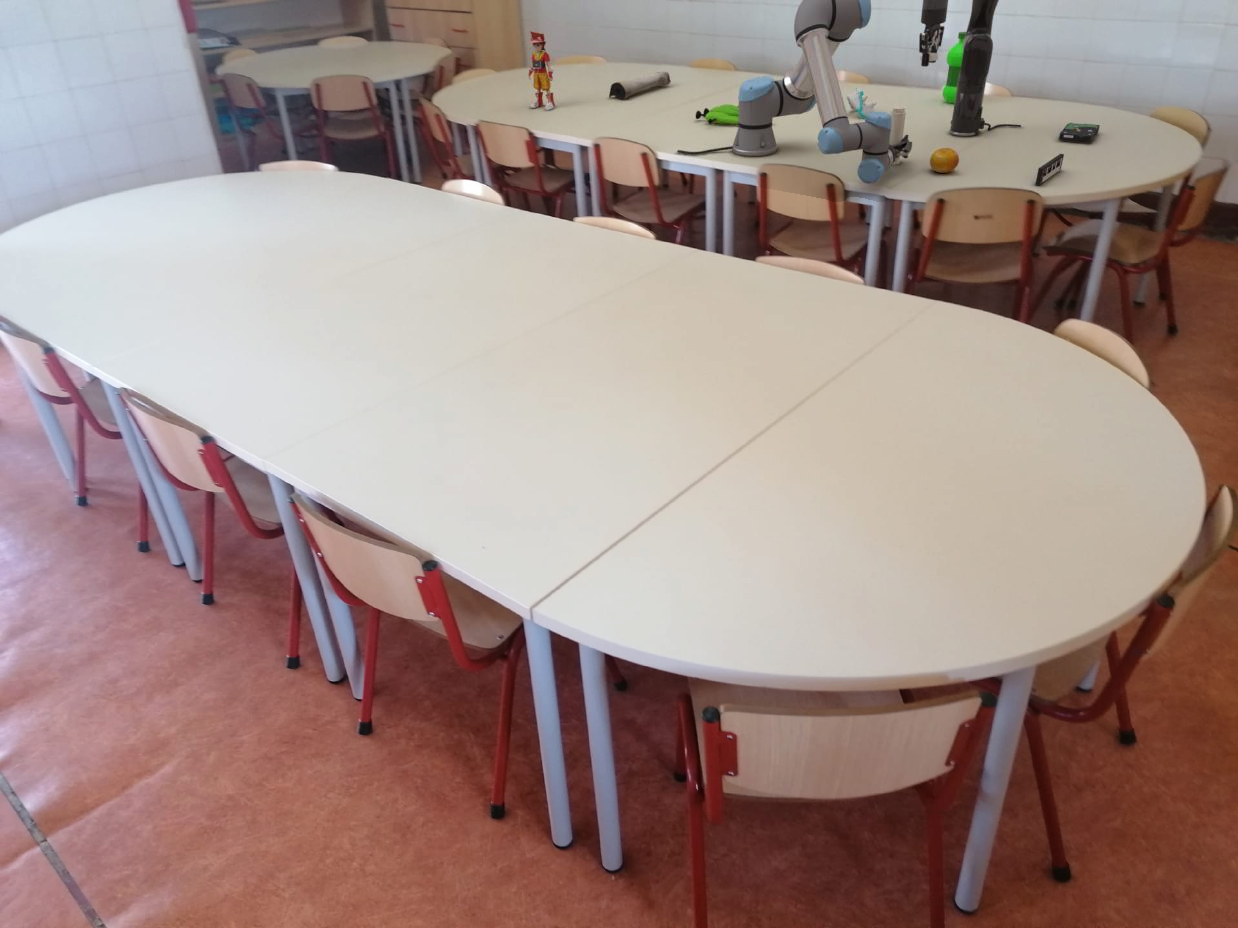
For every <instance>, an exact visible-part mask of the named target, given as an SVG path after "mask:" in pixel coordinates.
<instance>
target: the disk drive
mask: <svg viewBox="0 0 1238 928" xmlns="http://www.w3.org/2000/svg"><path fill="white" fill-rule="evenodd" d="M1100 127H1101V126H1100V124H1091V123H1075V122H1069V123H1067V124H1066V125H1065V126H1064V127H1063V129H1062V130H1061V131H1060V133H1059V136H1058V141H1062V142H1072V143H1083V144H1091V143H1093V141H1094V139H1095V137H1096V136H1097V135H1098V133H1099V132H1100Z"/></svg>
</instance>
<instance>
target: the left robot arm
mask: <svg viewBox="0 0 1238 928" xmlns="http://www.w3.org/2000/svg"><path fill="white" fill-rule="evenodd" d="M871 1H872V0H801V2H800V4H799V5H798V8H797V9H796V12H795V17H794V22H793V32H794V38H795V43H796V45H797V47H799V48H801V50H802V54H801V56H800V57H799V59H798V61H797V62H796V64H795V66H794V67H792V68H790V69H789V70H787V71H786V72H785V74H784V76H783V77H782V79H778V80H775V79H774V78H773V77H772V76H757V77H753V78H749V79H746V80H745V81H743V82H742V83H741V84H740V86H739V89H738V90H739V91H738V105H739V118H738V124H737V126H738V127H737V131H736V134H735V137H734V140H733V143H732V145H731V146H723V147H717V148H711V149H706V150H700V151H687V150H681V149H677V150H676V151H677V153H679V154H683V155H684V154H685V155H694V156H695V155H703V154H708V153H709V154H710V153H714V152H715V153H716V152H721V151H727V150H732V153H733V154H736V155H737V156H742V157H764V156H769V155H773V154H775V152H777V145H778V144H777V141H776V137H775V133H774V129H773V118H779V117H780V118H781V117H786V116H793V115H802V114H805V113H808V112H810V111H811V110H813V109H814V108H815V106H816V107H817V111H818V115H819V118H820V122H821V125H822V128H821V129H820V131H819V132H818V134H817V141H818V142H817V146H818V150H819V151H820V152H821V153H822V154H824V155H838V154H842V153H847V152H852V151H860V150H862V153H861V162H860V163H859V164H858V167H857V176H858V178H859V180H860V181H861V182H863V183H865V184H867V185H868V184H869V185H870V184H875V183H877V182H878V181H880V180H881V179H882V178H883V177H884V176H885V174H886V173H887V171H888V170H889V169H890V167H891V166H892V164H893V163H894V161H895V159H896V158H898V157H899V156H900V157H901V158H903V159H908V157H909V154H910V152H911V151H912V148H913V141H910V139H909V134H904V136H903V139H902V141H901V143H899V144H897V145H890V144H889V140H890V133H891V125H892V117H891V113H888V112H885V111H874V112H871V113H868V114H867V115H866V118H864V121H862V122H856V123H850V120H849V117H848V113H847V108H846V106H845V105H846V104H845V101H844V98H843V94H842V89H841V87H840V83H839V80H838V79H839V78H838V76H837V72H836V68H835V65H834V64H835V63H834V60H833V55H834V54H835V53H836V51H837V50H838V48H839V46H840V45H841V43H844V42H846V41H848V40H849V39H850V38H851V36H852V34H853V33H854V32H855V30H857V29H859V30H861V29H864V28H865V27H867V26H868V25H869V23H870V19H871V15H872V2H871Z"/></svg>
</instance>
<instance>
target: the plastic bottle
mask: <svg viewBox="0 0 1238 928" xmlns="http://www.w3.org/2000/svg"><path fill="white" fill-rule="evenodd" d="M965 34H966V31H959V32H958V36H957V39H958V42H957V43H956V44H954V45H953V46H952V47H951V48H950V49H949V50H948V52H947V54H946V63H947V64H948V69H947V70H948V71H947V76H946V77H947V78H946V84H945V85H944V87H943V90H942V97H943V99H944V100H945V101H946V102H947V103H948V104H954V103H955V96H956V90H957V83H958V76H959V73H960V69H961V63H962V57H963V47H962V46H963V41H964V38H965Z"/></svg>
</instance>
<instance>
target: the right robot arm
mask: <svg viewBox="0 0 1238 928" xmlns="http://www.w3.org/2000/svg"><path fill="white" fill-rule="evenodd" d="M999 1H1000V0H972V2H971V4H972V5H971V11H970V17H969V21H968V25H967V28H966V31H965V32H966V34H965V38H964V41H963V46H962V47H963V57H962V63H961V69H960V73H959V76H958V83H957V90H956V96H955V103H953V110H952V115H951V120H950V129H949V134H950V135H952V136H956V137H973V136H979V131H980V130H984V129H985V126H986V127H987V130H988V131H992V130H994V129H996V128H999V127H1013V128H1021V127H1022V124H1013V123H1012V124H1011V123H1010V124H1009V123H1001V124H996V125H993V126H991V124H990V123H988V122H986V120H985V118H984V117H982V115H983V109H984V107H983V102H984V96H985V90H986V83H987V79H988V76H989V72H990V67H991V61H992V55H993V51H994V42H993V38H992V29H993V21H994V16H995V13H996V8H997V6H998V3H999ZM948 7H949V0H922V8H921V16H920V23H921V24H923V25H925V26H924V30H923V32H920V33H919V41H918V52H919V53H920V54H922V60H921V63H920V64H921V65H920V66H921V67H928V66H930V63H931V64H935V63H937V60H935V61H929V58H930V53H937V54H938V50H939V48H940V47H941V46H942V42H943V37H944V32H945V26H944V25H942V24H944V23H946V21H947V15H948Z"/></svg>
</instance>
